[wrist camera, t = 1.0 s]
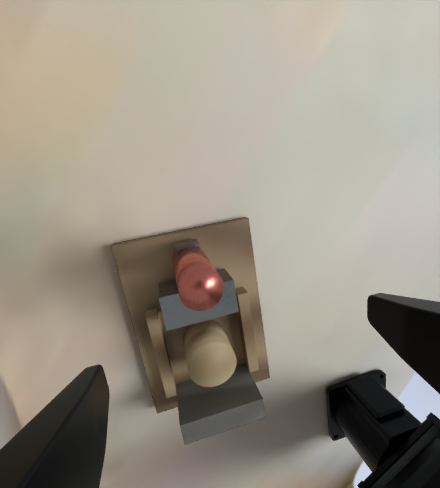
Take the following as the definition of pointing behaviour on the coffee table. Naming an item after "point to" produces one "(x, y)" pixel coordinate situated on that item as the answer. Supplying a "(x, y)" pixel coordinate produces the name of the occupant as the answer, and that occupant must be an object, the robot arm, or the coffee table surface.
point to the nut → (208, 354)
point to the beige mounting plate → (171, 342)
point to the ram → (195, 289)
